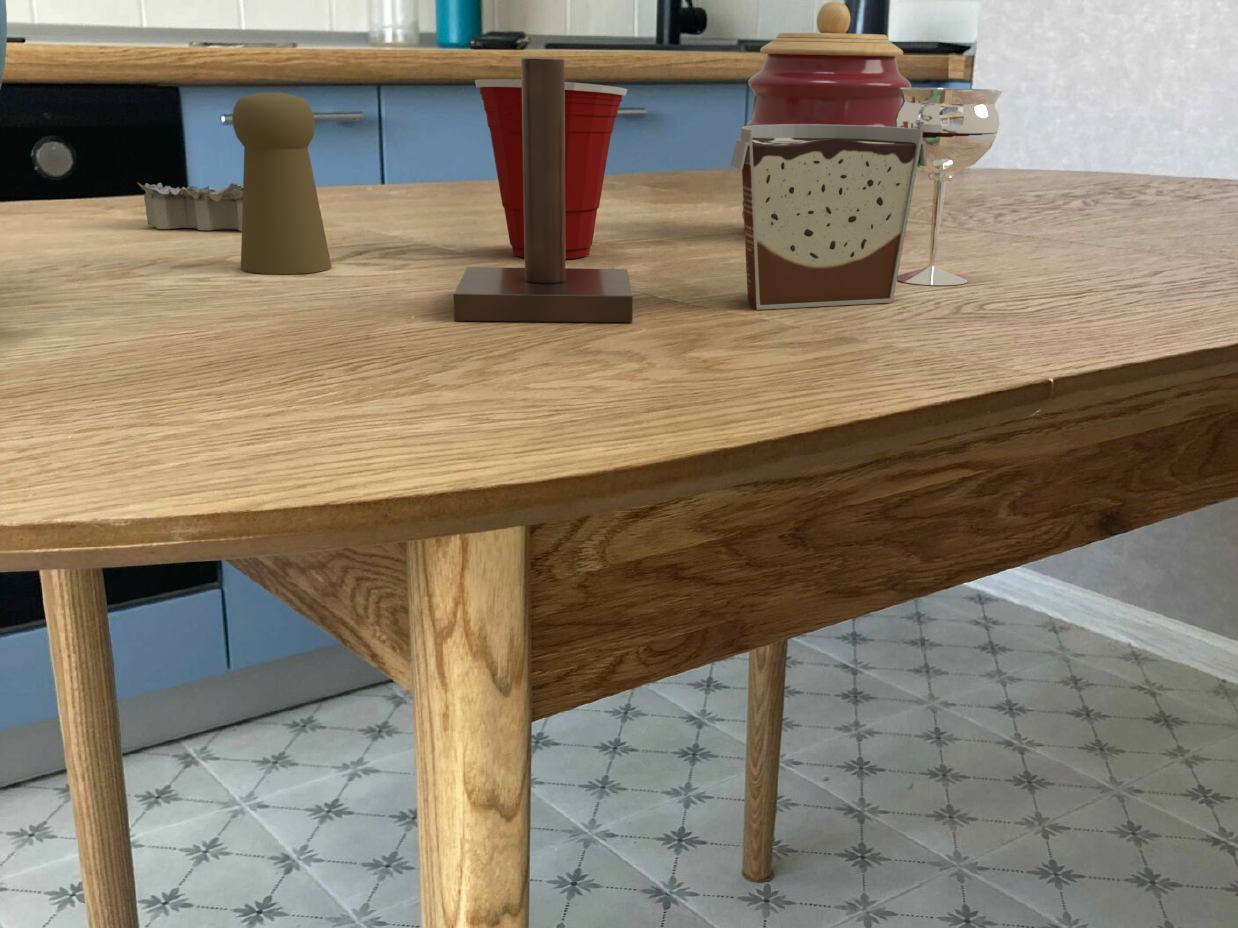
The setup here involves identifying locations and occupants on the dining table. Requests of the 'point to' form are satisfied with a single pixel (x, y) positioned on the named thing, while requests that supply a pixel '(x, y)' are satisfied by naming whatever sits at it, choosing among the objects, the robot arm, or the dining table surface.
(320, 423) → the dining table surface
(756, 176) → the food container
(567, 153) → the plastic cup
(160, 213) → the egg carton
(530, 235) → the stand
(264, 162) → the cork
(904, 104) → the wineglass
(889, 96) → the kitchen canister
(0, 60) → the robot arm
